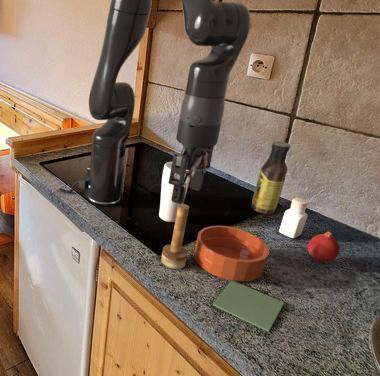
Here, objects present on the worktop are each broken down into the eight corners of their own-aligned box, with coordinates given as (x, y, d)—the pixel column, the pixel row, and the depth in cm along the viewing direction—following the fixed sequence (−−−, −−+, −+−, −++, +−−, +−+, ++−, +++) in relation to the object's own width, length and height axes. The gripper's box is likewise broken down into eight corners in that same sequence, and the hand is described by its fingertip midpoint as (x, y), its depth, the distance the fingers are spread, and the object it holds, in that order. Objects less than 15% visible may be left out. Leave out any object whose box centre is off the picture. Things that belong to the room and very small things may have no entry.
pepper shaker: (286, 228, 105) (296, 195, 101) (301, 235, 102) (313, 201, 98) (277, 232, 103) (287, 199, 99) (293, 239, 100) (304, 205, 96)
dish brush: (156, 262, 90) (166, 206, 84) (167, 252, 93) (177, 198, 87) (178, 272, 87) (190, 214, 81) (189, 261, 90) (201, 206, 84)
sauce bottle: (252, 202, 118) (270, 137, 109) (276, 209, 114) (296, 142, 106) (248, 211, 113) (266, 143, 104) (272, 218, 110) (293, 148, 101)
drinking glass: (179, 213, 111) (188, 162, 105) (184, 225, 105) (194, 172, 98) (154, 211, 111) (162, 160, 105) (157, 223, 105) (166, 170, 99)
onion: (307, 251, 95) (318, 222, 92) (336, 262, 91) (348, 232, 88) (300, 261, 91) (311, 231, 88) (329, 273, 88) (342, 242, 84)
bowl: (182, 263, 89) (187, 242, 87) (208, 239, 99) (212, 219, 97) (250, 293, 81) (256, 270, 79) (270, 262, 91) (277, 241, 88)
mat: (212, 305, 77) (212, 303, 77) (231, 281, 84) (231, 279, 84) (268, 332, 71) (269, 330, 71) (283, 304, 78) (284, 302, 78)
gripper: (196, 108, 83) (183, 180, 90) (164, 121, 74) (152, 201, 80) (234, 115, 79) (217, 190, 86) (204, 130, 69) (188, 213, 76)
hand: (186, 195), depth 83 cm, fingers open, 8 cm apart
